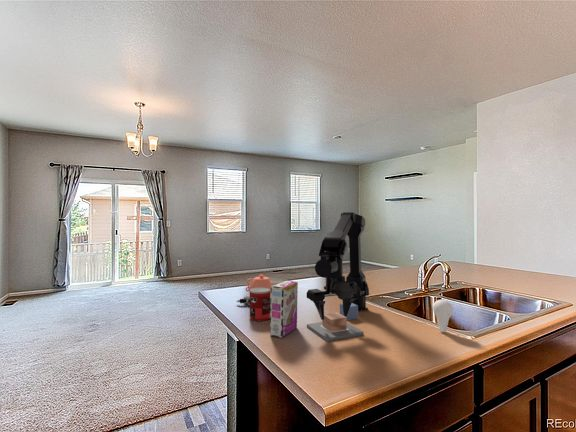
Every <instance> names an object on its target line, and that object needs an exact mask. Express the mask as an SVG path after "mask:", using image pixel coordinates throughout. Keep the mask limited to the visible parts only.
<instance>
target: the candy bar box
mask: <svg viewBox="0 0 576 432" xmlns="http://www.w3.org/2000/svg"><path fill="white" fill-rule="evenodd" d="M298 284H299V283H298V281H293V280H284V281H282V282H279V283H277V284H274V285H273V286H271V304H270V318H269V321H270V323H269V324H270V327H269V331H270V332H269V333H270V334H269V336H271V337H274V338H279V339H283V338H285V337H286V336H287V335H289V334H290V333H291V332H293V331H294V330H296V329H297V328H298Z"/></svg>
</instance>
